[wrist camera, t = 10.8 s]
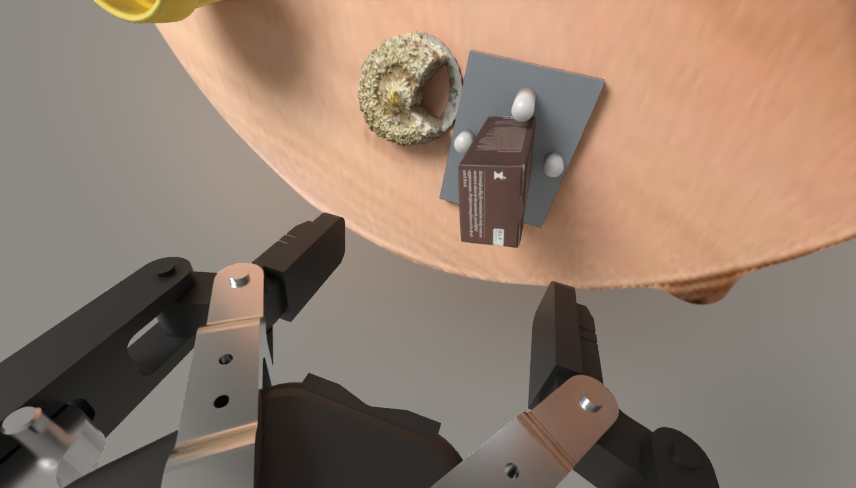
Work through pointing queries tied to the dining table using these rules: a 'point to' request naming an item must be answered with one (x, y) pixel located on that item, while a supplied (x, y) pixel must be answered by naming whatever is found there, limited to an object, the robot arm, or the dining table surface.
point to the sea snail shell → (406, 88)
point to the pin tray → (548, 111)
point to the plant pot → (152, 9)
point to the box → (496, 182)
